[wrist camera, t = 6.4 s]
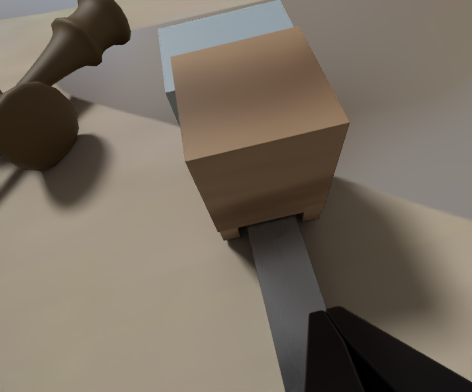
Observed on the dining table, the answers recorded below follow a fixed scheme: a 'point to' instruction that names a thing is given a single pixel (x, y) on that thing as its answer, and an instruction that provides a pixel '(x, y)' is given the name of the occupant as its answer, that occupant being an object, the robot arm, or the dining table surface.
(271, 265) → the rail
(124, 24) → the kendama
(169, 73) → the end block
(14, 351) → the dining table surface
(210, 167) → the block
